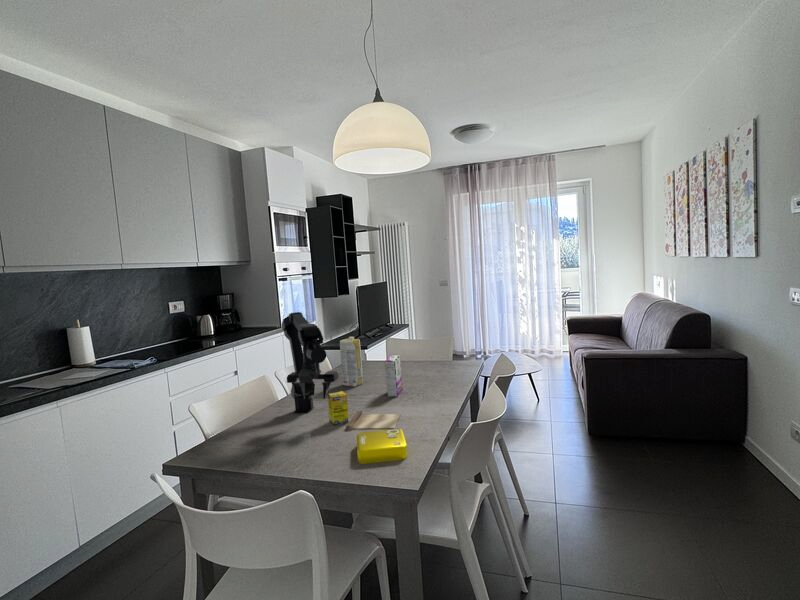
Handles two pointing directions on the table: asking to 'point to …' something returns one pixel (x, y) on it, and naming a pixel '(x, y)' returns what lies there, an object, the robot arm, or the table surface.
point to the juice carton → (351, 362)
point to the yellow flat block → (381, 446)
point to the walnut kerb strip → (353, 420)
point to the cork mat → (377, 421)
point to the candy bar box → (393, 376)
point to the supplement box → (338, 408)
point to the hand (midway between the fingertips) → (314, 399)
